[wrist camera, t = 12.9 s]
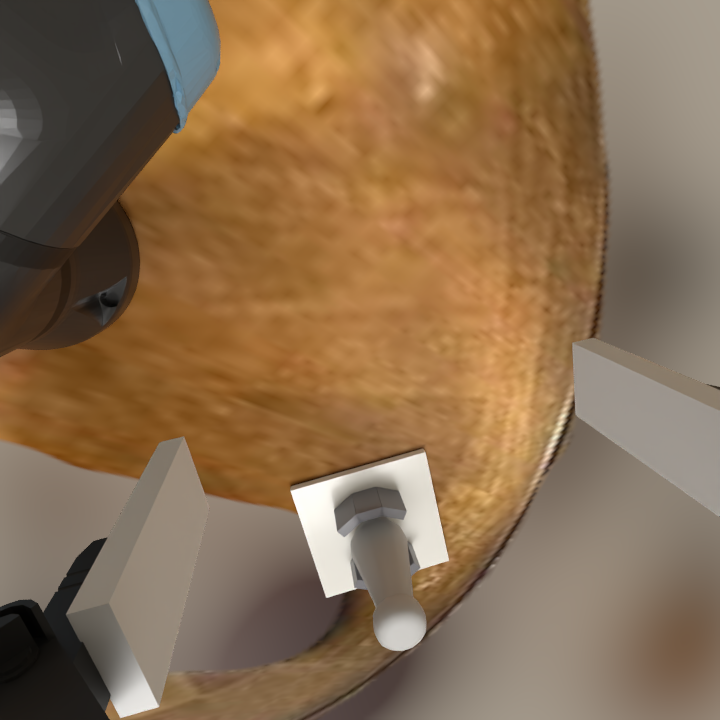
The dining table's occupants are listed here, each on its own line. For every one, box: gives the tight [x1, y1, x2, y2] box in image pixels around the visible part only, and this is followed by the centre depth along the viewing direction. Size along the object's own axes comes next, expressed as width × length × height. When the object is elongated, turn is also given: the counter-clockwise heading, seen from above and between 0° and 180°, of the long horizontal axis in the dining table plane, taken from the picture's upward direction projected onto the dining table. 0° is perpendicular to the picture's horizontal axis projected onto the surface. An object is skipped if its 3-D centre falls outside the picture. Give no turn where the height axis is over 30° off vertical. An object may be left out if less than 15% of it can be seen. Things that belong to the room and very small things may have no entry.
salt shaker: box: [350, 516, 426, 651], centre depth 43 cm, size 6×6×13 cm
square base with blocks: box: [291, 449, 449, 598], centre depth 48 cm, size 14×14×4 cm
